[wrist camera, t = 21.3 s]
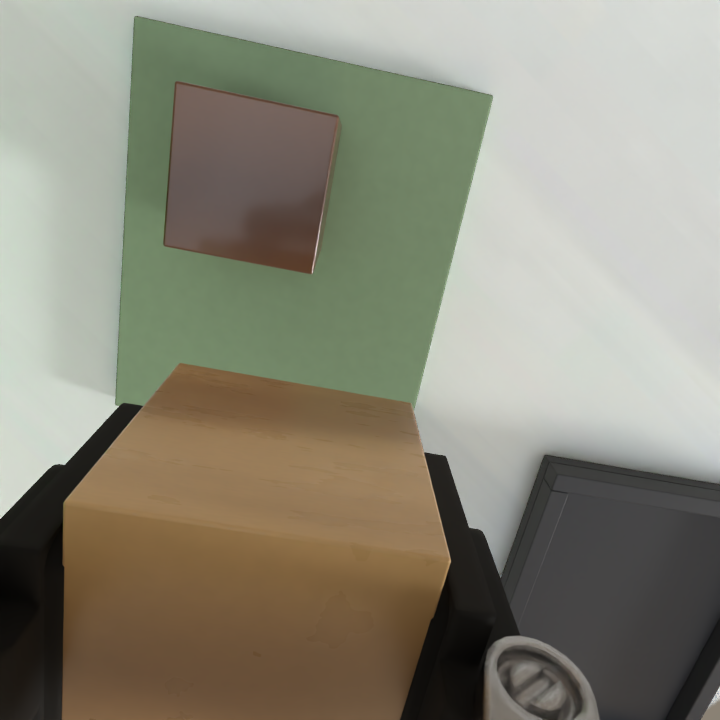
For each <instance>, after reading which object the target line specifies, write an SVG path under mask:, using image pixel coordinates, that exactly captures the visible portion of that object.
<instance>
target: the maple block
mask: <svg viewBox="0 0 720 720" xmlns="http://www.w3.org/2000/svg"><path fill="white" fill-rule="evenodd" d="M450 563H451V558H450V554H449V550H448V546H447V542H446V538H445V534H444V530H443V526H442V522H441V518H440V514H439V510H438V506H437V502H436V498H435V494H434V490H433V486H432V482H431V478H430V474H429V470H428V466H427V462H426V458H425V455H424V451H423V447H422V443H421V439H420V435H419V431H418V427H417V423H416V419H415V415H414V411H413V407H412V404H411V403H409V402H403V401H397V400H392V399H386V398H380V397H374V396H369V395H363V394H357V393H351V392H346V391H340V390H334V389H328V388H322V387H317V386H311V385H305V384H299V383H294V382H288V381H282V380H276V379H270V378H265V377H259V376H253V375H247V374H242V373H236V372H230V371H224V370H218V369H213V368H207V367H201V366H195V365H190V364H184V363H179V364H178V365H177V366H176V367H175V368H174V370H173V371H172V372H171V373H170V375H169V376H168V377H167V378H166V379H165V381H164V382H163V383H162V384H161V385H160V387H159V388H158V389H157V390H156V391H155V393H154V394H153V395H152V396H151V397H150V399H149V400H148V401H147V402H146V403H145V405H144V406H143V407H142V408H141V409H140V411H139V412H138V413H137V414H136V415H135V417H134V418H133V419H132V420H131V421H130V423H129V424H128V425H127V426H126V428H125V429H124V430H123V431H122V432H121V434H120V435H119V436H118V437H117V438H116V440H115V441H114V442H113V443H112V444H111V446H110V447H109V448H108V449H107V450H106V452H105V453H104V454H103V455H102V456H101V458H100V459H99V460H98V461H97V462H96V464H95V465H94V466H93V467H92V468H91V470H90V471H89V472H88V473H87V474H86V476H85V477H84V478H83V479H82V481H81V482H80V483H79V484H78V485H77V487H76V488H75V489H74V490H73V491H72V493H71V494H70V495H69V496H68V497H67V499H66V500H65V501H64V504H63V559H62V565H63V566H64V622H63V678H62V720H400V718H401V715H402V712H403V709H404V705H405V702H406V699H407V696H408V692H409V689H410V686H411V683H412V679H413V676H414V673H415V669H416V666H417V663H418V660H419V656H420V653H421V650H422V647H423V643H424V640H425V637H426V634H427V630H428V627H429V624H430V621H431V619H432V618H433V617H434V615H435V611H436V608H437V605H438V602H439V599H440V595H441V592H442V589H443V586H444V582H445V579H446V576H447V573H448V569H449V566H450Z"/></svg>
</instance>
